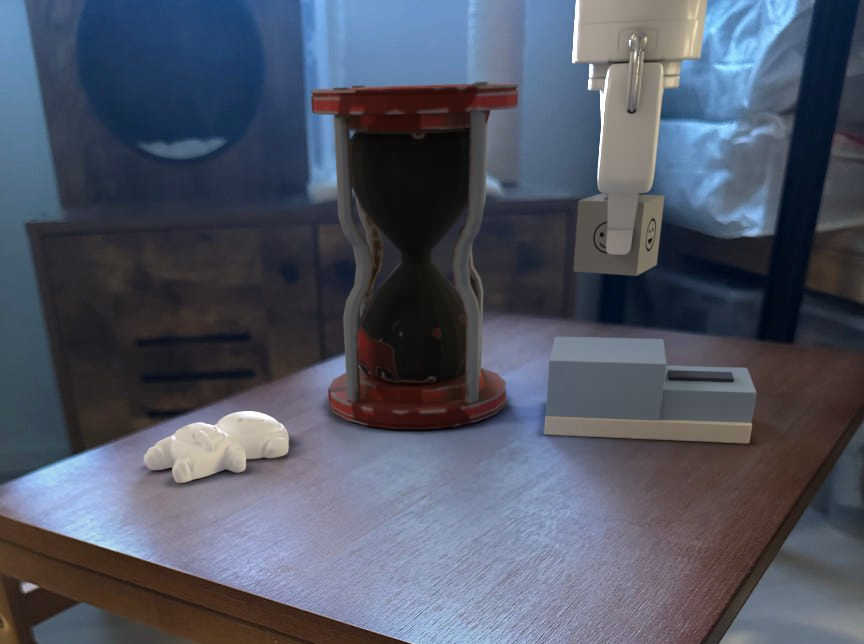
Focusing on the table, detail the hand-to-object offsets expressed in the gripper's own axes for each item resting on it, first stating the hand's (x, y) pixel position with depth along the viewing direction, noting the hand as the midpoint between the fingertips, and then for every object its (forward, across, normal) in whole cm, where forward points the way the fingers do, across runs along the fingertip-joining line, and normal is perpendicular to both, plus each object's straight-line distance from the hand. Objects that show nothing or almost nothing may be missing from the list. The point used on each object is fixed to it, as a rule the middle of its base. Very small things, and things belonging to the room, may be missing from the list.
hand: (618, 246), depth 73 cm
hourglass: (+14, +3, +17) cm, 22 cm away
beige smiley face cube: (+2, 0, 0) cm, 2 cm away
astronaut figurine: (+14, -13, +30) cm, 35 cm away
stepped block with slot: (+14, 0, -3) cm, 14 cm away
